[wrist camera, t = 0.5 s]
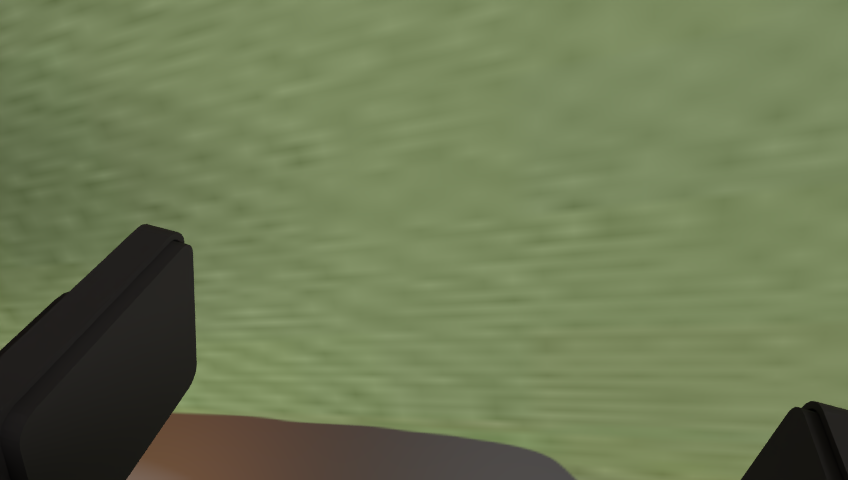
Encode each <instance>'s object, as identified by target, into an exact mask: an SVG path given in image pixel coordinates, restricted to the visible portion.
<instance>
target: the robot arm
mask: <svg viewBox="0 0 848 480" xmlns="http://www.w3.org/2000/svg"><path fill="white" fill-rule="evenodd" d="M196 365H197V361H196V331H195V300H194V270H193V250H192V247H191V246H190V245H188V244H184V238H183V236H182V234H180V233H178V232H175V231H171V230H167V229H163V228H160V227H156V226H152V225H148V224H144V225H141V226H140V227H138V228H137V229H136V230H135V231H134V232H133V233H131V234H130V235H129V236H128V237H127V238H126V239H125V240H124V241H123V242H122V243H121V244H120V245H119V246H118V247H117V248H116V249H114V250H113V251H112V252H111V253H110V254H109V255H108V256H107V257H106V258H105V259H104V260H103V261H102V262H101V263H100V264H98V265H97V266H96V267H95V268H94V269H93V270H92V271H91V272H90V273H89V274H88V275H87V276H86V277H85V278H84V279H83V280H81V281H80V282H79V283H78V284H77V285H76V286H75V287H74V288H73V289H72V290H71V291H70V292H67V293H64V294H62V295H61V296H60V297H58V298H57V299H55V300H54V301H53V302H52V303H51V304H50V305H49V306H48V307H47V308H46V309H45V310H43V311H42V312H41V313H40V314H39V315H38V316H37V317H36V318H35V319H34V320H33V321H32V322H31V323H29V324H28V325H27V326H26V327H25V328H24V329H23V330H22V331H21V332H20V333H19V334H18V335H17V336H15V337H14V338H13V339H12V340H11V341H10V342H9V343H8V344H7V345H6V346H5V347H4V348H3V349H1V350H0V480H126V479H127V477H128V476H129V475H130V473H131V472H132V470H133V469H134V467H135V466H136V464H137V463H138V462H139V460H140V459H141V457H142V456H143V454H144V453H145V451H146V450H147V448H148V447H149V445H150V444H151V442H152V441H153V440H154V438H155V437H156V435H157V434H158V432H159V431H160V429H161V428H162V427H163V425H164V424H165V422H166V421H167V419H168V418H169V416H170V415H171V413H172V412H173V410H174V409H175V408H176V406H177V405H178V403H179V402H180V400H181V399H182V397H183V396H184V394H185V393H186V392H187V390H188V389H189V387H190V385H191V383H192V381H193V379H194V376H195V372H196ZM741 480H848V410H846V409H842V408H838V407H834V406H830V405H827V404H823V403H819V402H815V401H810V402H808V403H806V404H805V405H804V406H803V407H802V408H799V407H794V408H792V409H791V410H790V411H789V412H788V414H787V415H786V416H785V418H784V419H783V421H782V422H781V423H780V425H779V426H778V428H777V429H776V431H775V432H774V433H773V435H772V436H771V438H770V439H769V441H768V442H767V443H766V445H765V446H764V448H763V449H762V450H761V452H760V453H759V455H758V456H757V458H756V459H755V460H754V462H753V463H752V465H751V466H750V468H749V469H748V470H747V472H746V473H745V475H744V476H743V478H742V479H741Z"/></svg>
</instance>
